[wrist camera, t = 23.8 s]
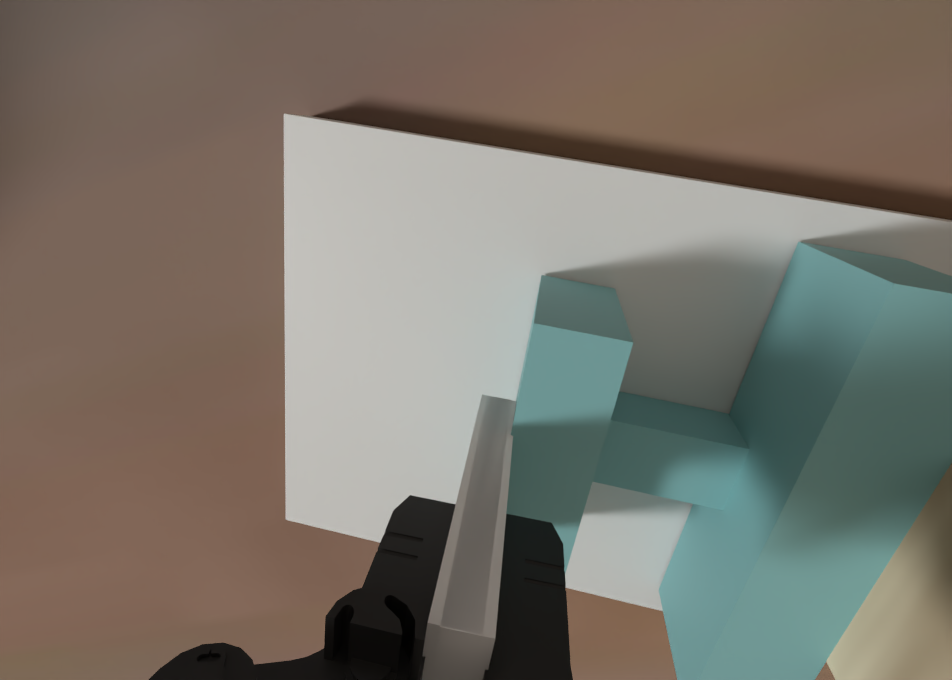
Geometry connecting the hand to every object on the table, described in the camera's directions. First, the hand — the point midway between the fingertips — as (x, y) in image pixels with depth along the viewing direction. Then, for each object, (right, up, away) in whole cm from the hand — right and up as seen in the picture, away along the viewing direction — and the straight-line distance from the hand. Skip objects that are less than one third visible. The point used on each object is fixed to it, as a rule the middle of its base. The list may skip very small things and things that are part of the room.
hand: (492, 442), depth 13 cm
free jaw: (+5, 0, +2) cm, 5 cm away
